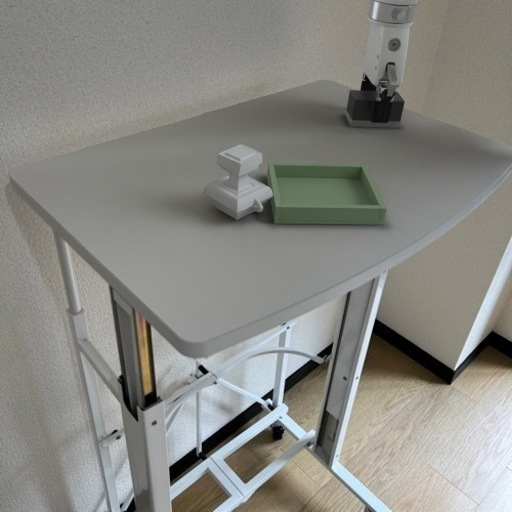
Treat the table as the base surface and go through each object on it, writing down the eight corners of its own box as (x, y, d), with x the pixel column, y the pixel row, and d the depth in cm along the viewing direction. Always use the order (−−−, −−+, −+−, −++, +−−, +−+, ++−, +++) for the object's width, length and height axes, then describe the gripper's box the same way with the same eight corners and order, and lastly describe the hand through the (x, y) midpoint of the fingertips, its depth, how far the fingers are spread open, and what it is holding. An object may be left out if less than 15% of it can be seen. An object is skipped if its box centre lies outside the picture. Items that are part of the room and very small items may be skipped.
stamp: (196, 205, 75) (196, 148, 70) (232, 189, 79) (233, 134, 74) (243, 233, 70) (246, 173, 65) (278, 214, 74) (283, 157, 69)
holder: (362, 179, 83) (365, 164, 82) (383, 225, 73) (386, 208, 72) (266, 178, 82) (268, 162, 81) (274, 223, 72) (275, 206, 70)
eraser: (392, 117, 104) (397, 91, 101) (399, 127, 100) (405, 101, 97) (345, 115, 104) (349, 89, 101) (350, 126, 100) (355, 99, 97)
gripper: (430, 27, 84) (405, 131, 94) (399, 1, 98) (381, 95, 108) (382, 24, 84) (362, 130, 94) (358, -1, 98) (343, 94, 108)
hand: (372, 111), depth 101 cm, fingers open, 9 cm apart
